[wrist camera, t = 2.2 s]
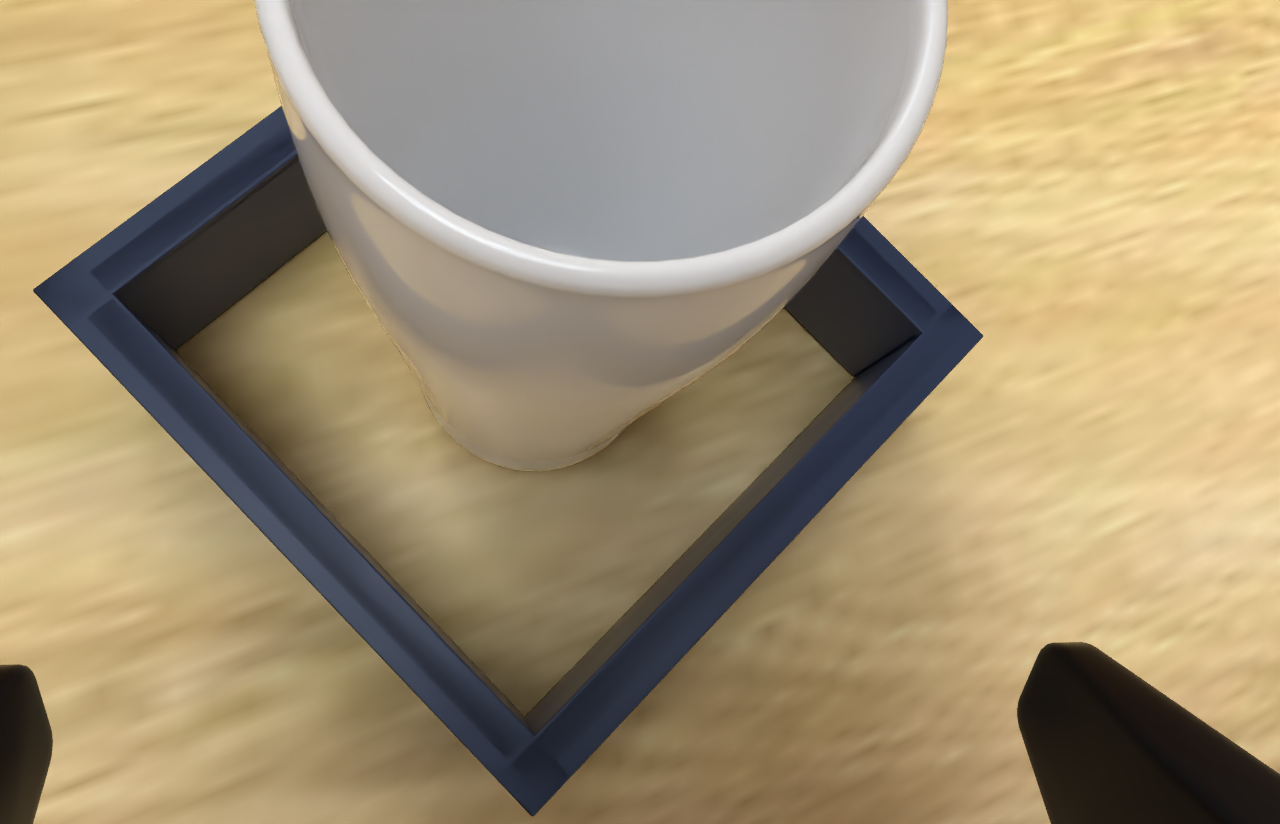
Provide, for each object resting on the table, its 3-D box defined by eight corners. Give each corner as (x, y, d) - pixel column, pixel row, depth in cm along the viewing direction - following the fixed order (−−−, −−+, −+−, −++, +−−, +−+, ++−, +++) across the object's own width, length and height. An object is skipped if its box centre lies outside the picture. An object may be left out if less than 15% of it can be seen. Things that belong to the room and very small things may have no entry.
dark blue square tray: (906, 380, 25) (984, 335, 21) (523, 784, 22) (532, 818, 18) (540, 14, 26) (552, -95, 22) (109, 348, 22) (31, 289, 18)
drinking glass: (392, 226, 24) (259, -399, 9) (668, 238, 25) (934, -304, 10) (382, 506, 22) (204, 284, 8) (675, 506, 23) (995, 311, 9)
